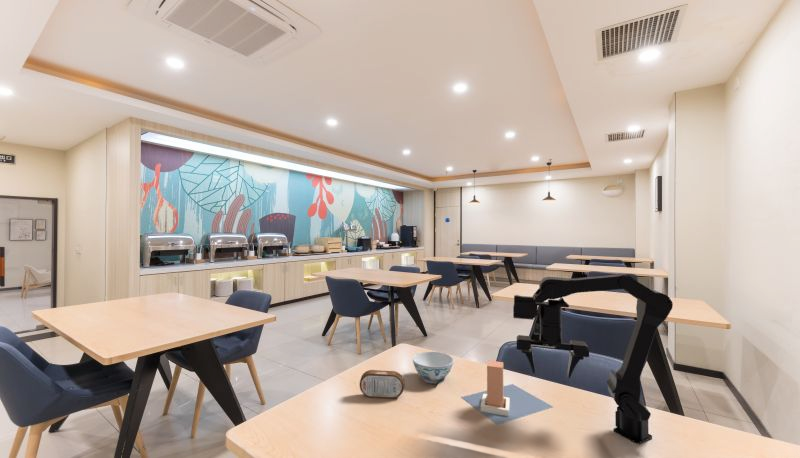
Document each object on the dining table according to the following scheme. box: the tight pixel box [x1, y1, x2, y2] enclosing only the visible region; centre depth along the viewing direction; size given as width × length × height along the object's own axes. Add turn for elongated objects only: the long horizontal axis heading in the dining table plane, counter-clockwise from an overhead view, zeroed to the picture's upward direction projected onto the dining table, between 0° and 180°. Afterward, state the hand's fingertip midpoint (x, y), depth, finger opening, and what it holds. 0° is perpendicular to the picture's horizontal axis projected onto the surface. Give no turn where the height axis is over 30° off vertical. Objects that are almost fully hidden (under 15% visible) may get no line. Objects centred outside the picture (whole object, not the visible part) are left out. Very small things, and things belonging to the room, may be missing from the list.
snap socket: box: [481, 394, 510, 416], centre depth 100 cm, size 8×8×2 cm
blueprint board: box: [460, 383, 554, 426], centre depth 103 cm, size 17×22×1 cm
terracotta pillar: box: [486, 360, 505, 408], centre depth 100 cm, size 4×4×13 cm
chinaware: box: [412, 351, 454, 384], centre depth 122 cm, size 15×15×8 cm
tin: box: [359, 369, 406, 400], centre depth 109 cm, size 15×3×8 cm, turn 84°
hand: (551, 375), depth 95 cm, fingers open, 9 cm apart
